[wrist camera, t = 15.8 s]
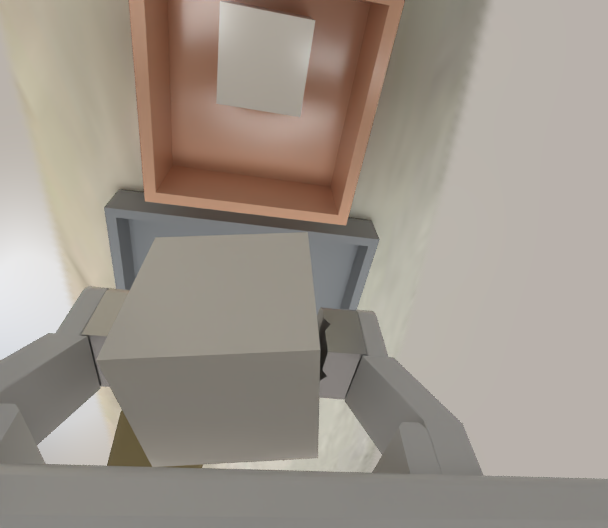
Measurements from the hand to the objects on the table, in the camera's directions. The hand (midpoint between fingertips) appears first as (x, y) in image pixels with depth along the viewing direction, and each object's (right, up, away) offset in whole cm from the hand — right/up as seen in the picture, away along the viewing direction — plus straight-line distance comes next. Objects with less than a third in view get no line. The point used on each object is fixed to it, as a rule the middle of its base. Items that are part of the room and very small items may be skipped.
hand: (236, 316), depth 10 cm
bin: (-1, +11, +11) cm, 16 cm away
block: (0, +1, +1) cm, 1 cm away
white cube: (0, +13, +10) cm, 16 cm away
